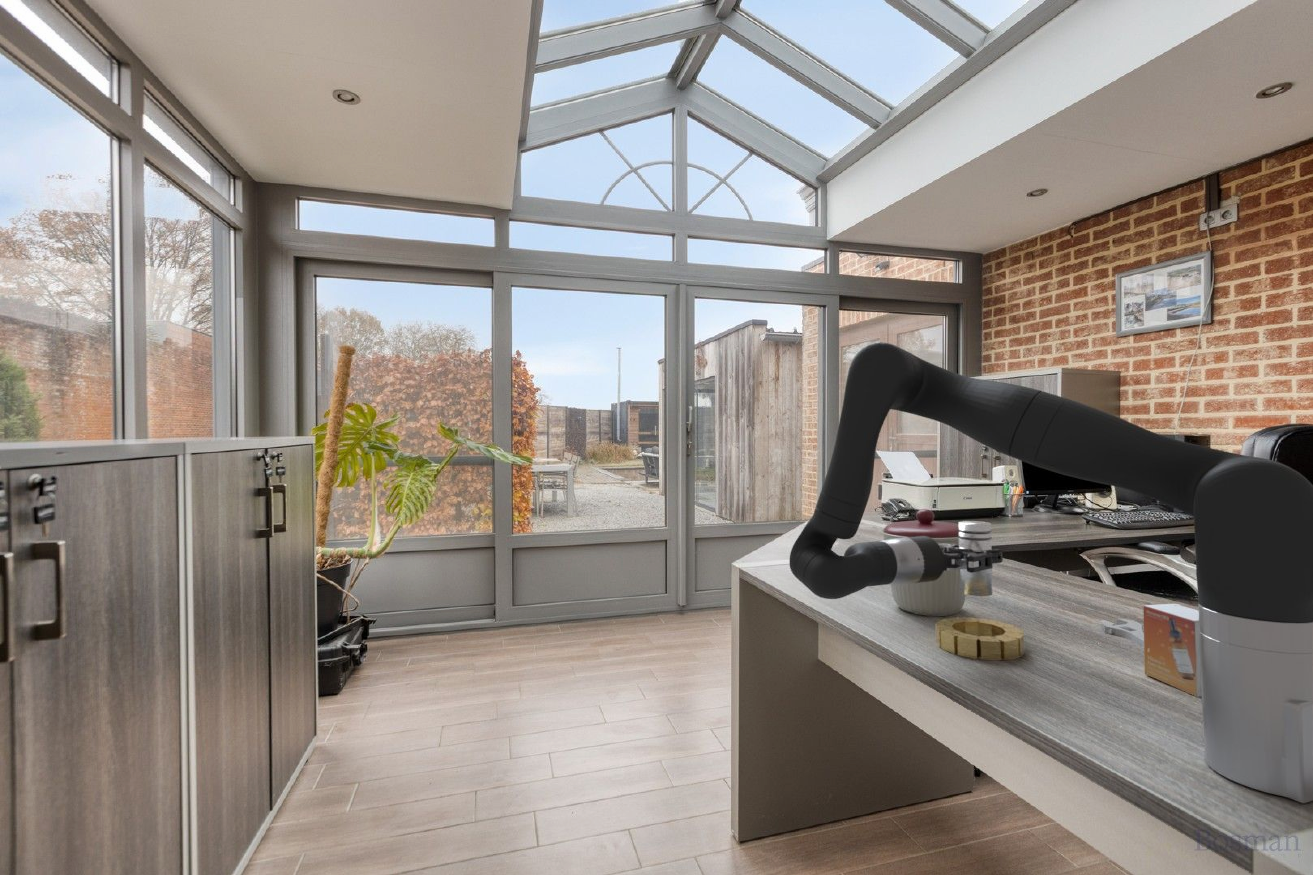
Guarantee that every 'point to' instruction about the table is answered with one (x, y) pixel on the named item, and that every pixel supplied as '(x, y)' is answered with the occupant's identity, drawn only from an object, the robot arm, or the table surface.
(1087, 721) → the table surface
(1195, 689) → the small box
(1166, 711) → the table surface
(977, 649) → the ring
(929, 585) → the canister
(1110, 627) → the adjustable wrench
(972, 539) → the spice jar
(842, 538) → the robot arm
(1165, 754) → the table surface
